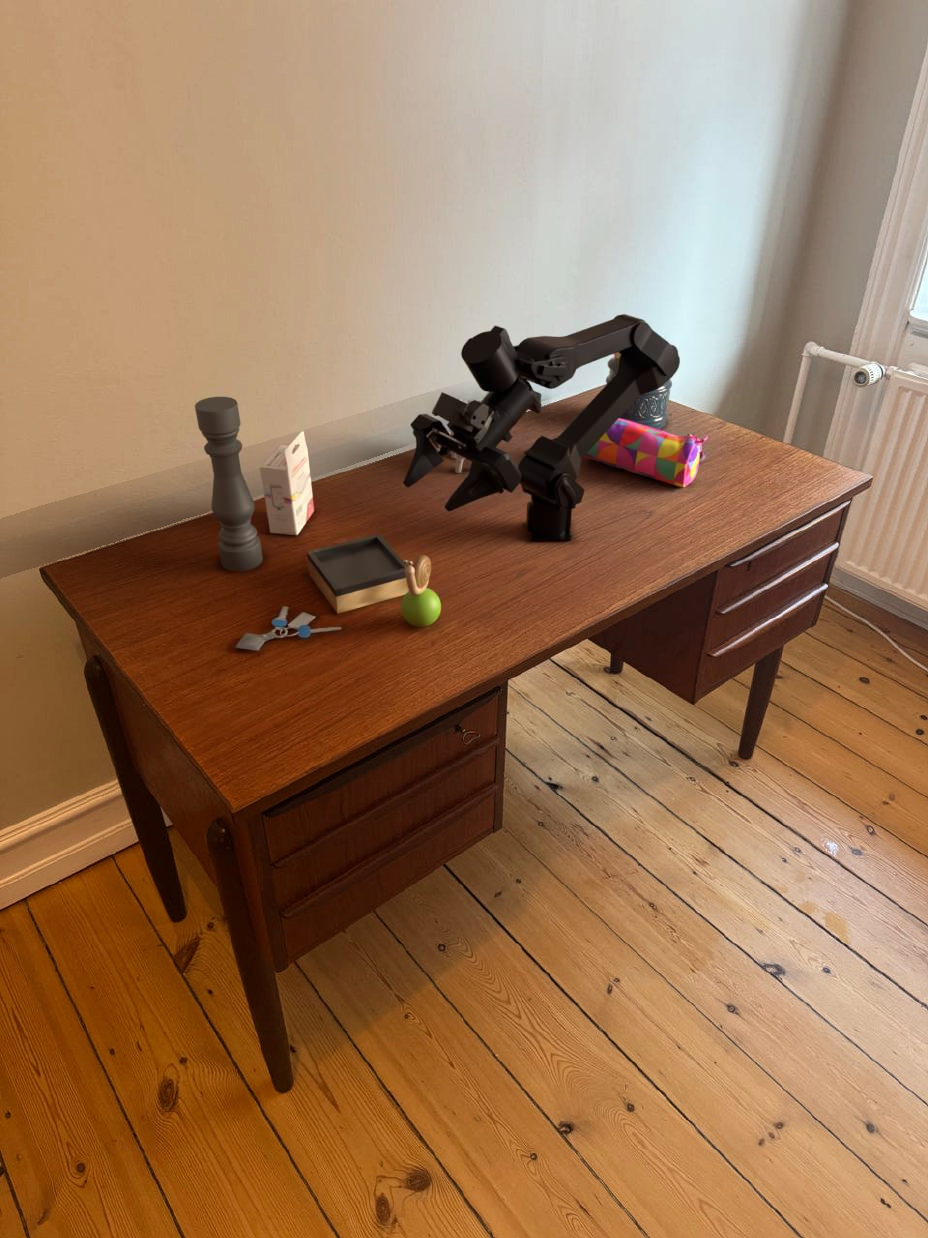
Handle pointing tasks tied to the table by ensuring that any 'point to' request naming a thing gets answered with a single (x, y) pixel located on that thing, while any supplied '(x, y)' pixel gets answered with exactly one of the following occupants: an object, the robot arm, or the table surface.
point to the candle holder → (229, 484)
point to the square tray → (358, 572)
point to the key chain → (298, 623)
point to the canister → (645, 402)
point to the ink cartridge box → (288, 487)
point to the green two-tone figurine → (420, 594)
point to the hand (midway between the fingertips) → (425, 497)
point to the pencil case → (649, 452)
